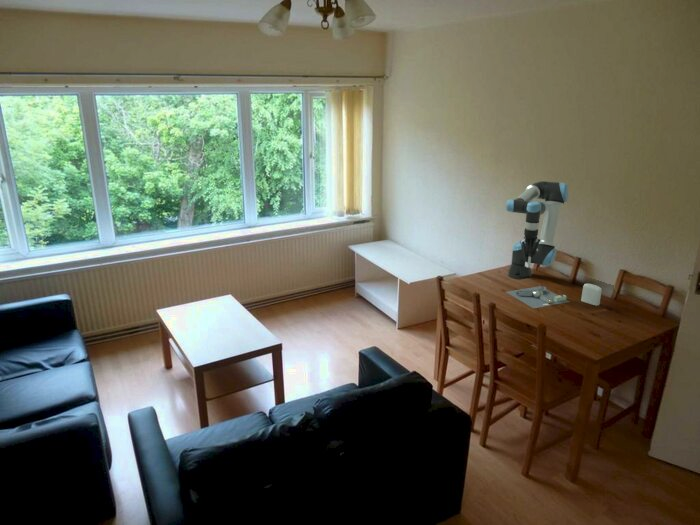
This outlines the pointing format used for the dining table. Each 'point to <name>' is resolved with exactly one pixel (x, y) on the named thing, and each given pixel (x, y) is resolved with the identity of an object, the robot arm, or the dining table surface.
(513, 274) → the robot arm
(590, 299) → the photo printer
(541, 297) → the grey metal branched piece
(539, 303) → the level board
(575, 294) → the dining table surface
